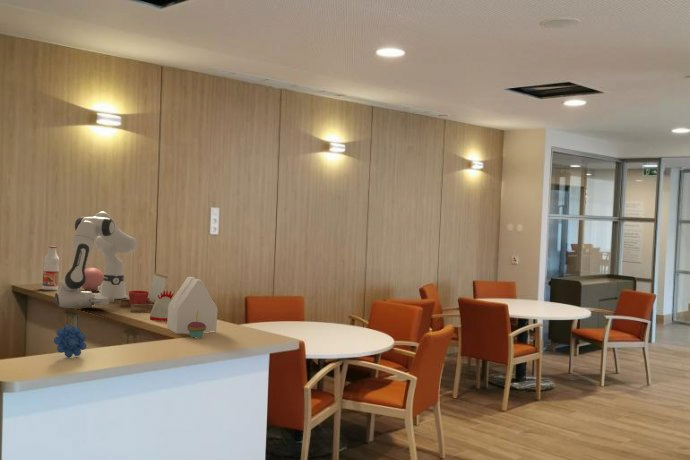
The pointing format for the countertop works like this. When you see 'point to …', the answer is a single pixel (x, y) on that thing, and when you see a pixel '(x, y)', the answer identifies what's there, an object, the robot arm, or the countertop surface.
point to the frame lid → (157, 286)
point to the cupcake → (196, 328)
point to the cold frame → (138, 305)
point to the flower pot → (138, 297)
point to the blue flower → (70, 341)
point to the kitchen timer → (161, 307)
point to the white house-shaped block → (192, 307)
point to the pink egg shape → (92, 279)
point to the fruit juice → (51, 270)
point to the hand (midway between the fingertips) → (113, 299)
